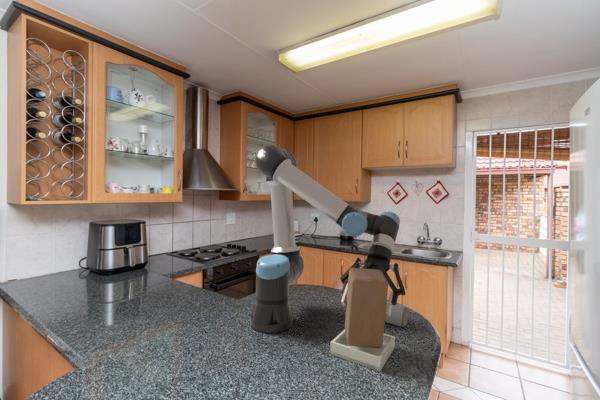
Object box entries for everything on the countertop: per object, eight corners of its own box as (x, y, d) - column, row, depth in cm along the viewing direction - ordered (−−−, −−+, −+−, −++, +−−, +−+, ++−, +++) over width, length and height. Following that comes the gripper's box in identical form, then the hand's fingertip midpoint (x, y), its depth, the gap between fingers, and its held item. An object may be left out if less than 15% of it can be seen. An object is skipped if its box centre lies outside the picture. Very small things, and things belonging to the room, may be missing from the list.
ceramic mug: (403, 331, 99) (404, 308, 99) (380, 324, 104) (381, 303, 104) (411, 321, 108) (412, 300, 108) (389, 315, 113) (390, 295, 113)
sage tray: (330, 354, 83) (330, 342, 83) (349, 334, 96) (350, 324, 96) (380, 371, 75) (380, 358, 75) (394, 348, 88) (394, 336, 88)
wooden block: (376, 330, 90) (381, 268, 88) (383, 350, 80) (389, 281, 78) (344, 327, 91) (348, 266, 88) (346, 347, 81) (352, 278, 78)
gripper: (421, 262, 93) (410, 325, 80) (349, 252, 106) (330, 305, 94) (419, 248, 88) (406, 312, 76) (343, 240, 102) (323, 293, 89)
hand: (364, 309), depth 85 cm, fingers open, 13 cm apart
